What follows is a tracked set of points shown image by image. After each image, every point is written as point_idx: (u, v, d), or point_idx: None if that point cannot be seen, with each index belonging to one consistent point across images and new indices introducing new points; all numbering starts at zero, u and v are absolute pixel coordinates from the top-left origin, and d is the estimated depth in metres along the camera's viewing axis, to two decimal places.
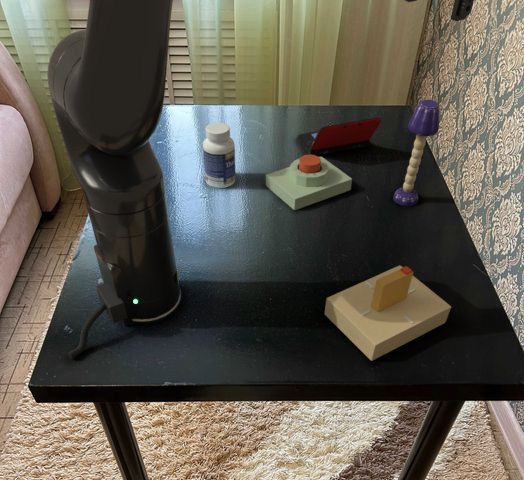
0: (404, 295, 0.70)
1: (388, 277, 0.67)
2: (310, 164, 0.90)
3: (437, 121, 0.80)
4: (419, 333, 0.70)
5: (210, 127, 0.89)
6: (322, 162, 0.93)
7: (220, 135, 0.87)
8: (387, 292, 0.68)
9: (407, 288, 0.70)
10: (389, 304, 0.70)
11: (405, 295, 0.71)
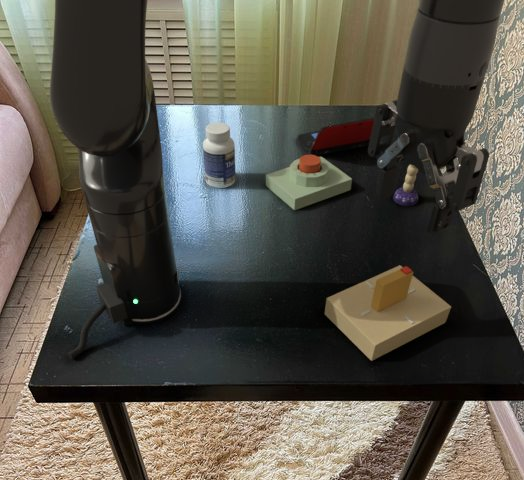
0: (404, 295, 0.70)
1: (388, 277, 0.67)
2: (310, 164, 0.90)
3: None
4: (419, 333, 0.70)
5: (210, 127, 0.89)
6: (322, 162, 0.93)
7: (220, 135, 0.87)
8: (387, 292, 0.68)
9: (407, 288, 0.70)
10: (389, 304, 0.70)
11: (405, 295, 0.71)
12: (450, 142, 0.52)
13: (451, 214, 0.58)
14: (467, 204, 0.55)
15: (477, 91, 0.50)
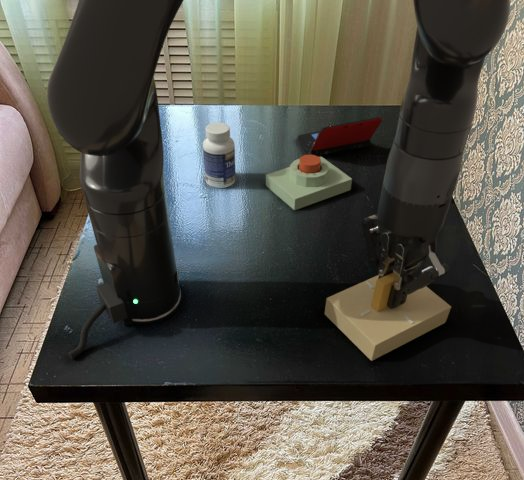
0: None
1: (388, 277, 0.67)
2: (310, 164, 0.90)
3: None
4: (419, 333, 0.70)
5: (210, 127, 0.89)
6: (322, 162, 0.93)
7: (220, 135, 0.87)
8: (387, 292, 0.68)
9: None
10: None
11: None
12: (424, 246, 0.60)
13: None
14: (416, 290, 0.65)
15: (446, 206, 0.57)
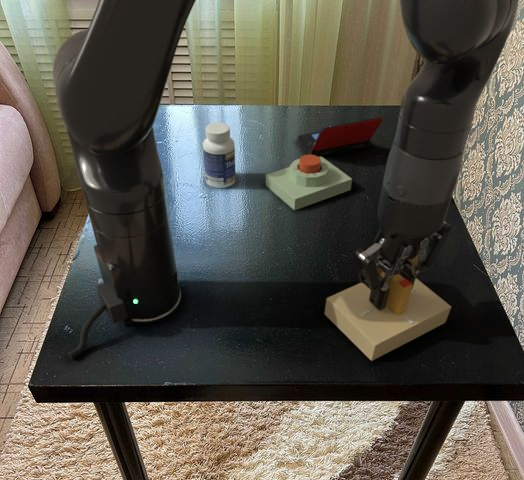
0: (395, 307, 0.69)
1: None
2: (310, 164, 0.90)
3: None
4: (419, 333, 0.70)
5: (210, 127, 0.89)
6: (322, 162, 0.93)
7: (220, 135, 0.87)
8: None
9: (398, 302, 0.68)
10: None
11: (396, 309, 0.69)
12: (378, 233, 0.61)
13: (376, 295, 0.67)
14: (366, 285, 0.65)
15: (398, 208, 0.57)
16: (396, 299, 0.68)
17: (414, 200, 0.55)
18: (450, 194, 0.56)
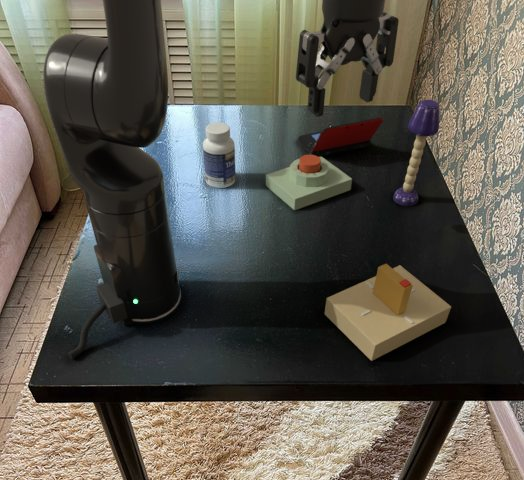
0: (395, 307, 0.69)
1: (391, 271, 0.68)
2: (310, 164, 0.90)
3: (437, 121, 0.80)
4: (419, 333, 0.70)
5: (210, 127, 0.89)
6: (322, 162, 0.93)
7: (220, 135, 0.87)
8: (380, 280, 0.69)
9: (398, 302, 0.68)
10: (382, 299, 0.70)
11: (396, 309, 0.69)
12: None
13: (313, 96, 0.71)
14: (301, 79, 0.68)
15: None
16: (396, 299, 0.68)
17: None
18: None
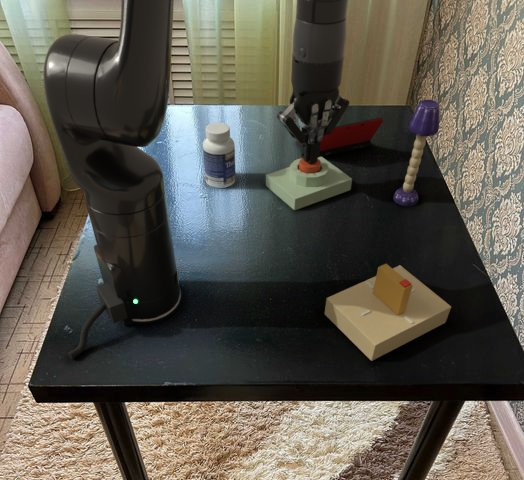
0: (395, 307, 0.69)
1: (391, 271, 0.68)
2: (309, 166, 0.90)
3: (437, 121, 0.80)
4: (419, 333, 0.70)
5: (210, 127, 0.89)
6: (322, 162, 0.93)
7: (220, 135, 0.87)
8: (380, 280, 0.69)
9: (398, 302, 0.68)
10: (382, 299, 0.70)
11: (396, 309, 0.69)
12: None
13: (305, 149, 0.88)
14: (296, 139, 0.86)
15: (302, 68, 0.77)
16: (396, 299, 0.68)
17: (311, 59, 0.75)
18: (339, 56, 0.76)
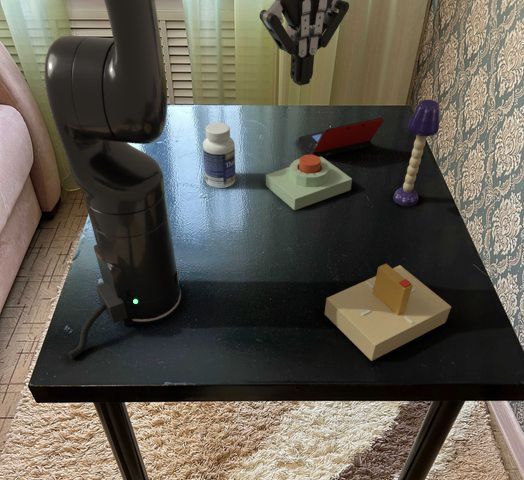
0: (395, 307, 0.69)
1: (391, 271, 0.68)
2: (310, 164, 0.90)
3: (437, 121, 0.80)
4: (419, 333, 0.70)
5: (210, 127, 0.89)
6: (322, 162, 0.93)
7: (220, 135, 0.87)
8: (380, 280, 0.69)
9: (398, 302, 0.68)
10: (382, 299, 0.70)
11: (396, 309, 0.69)
12: None
13: (295, 64, 0.72)
14: (284, 49, 0.70)
15: None
16: (396, 299, 0.68)
17: None
18: None
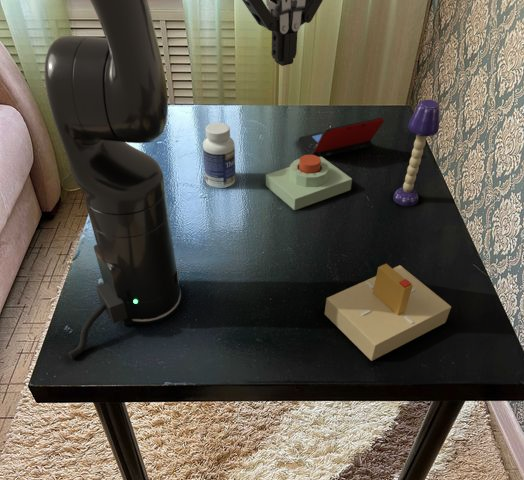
0: (395, 307, 0.69)
1: (391, 271, 0.68)
2: (310, 164, 0.90)
3: (437, 121, 0.80)
4: (419, 333, 0.70)
5: (210, 127, 0.89)
6: (322, 162, 0.93)
7: (220, 135, 0.87)
8: (380, 280, 0.69)
9: (398, 302, 0.68)
10: (382, 299, 0.70)
11: (396, 309, 0.69)
12: None
13: (276, 42, 0.65)
14: (263, 25, 0.63)
15: None
16: (396, 299, 0.68)
17: None
18: None
